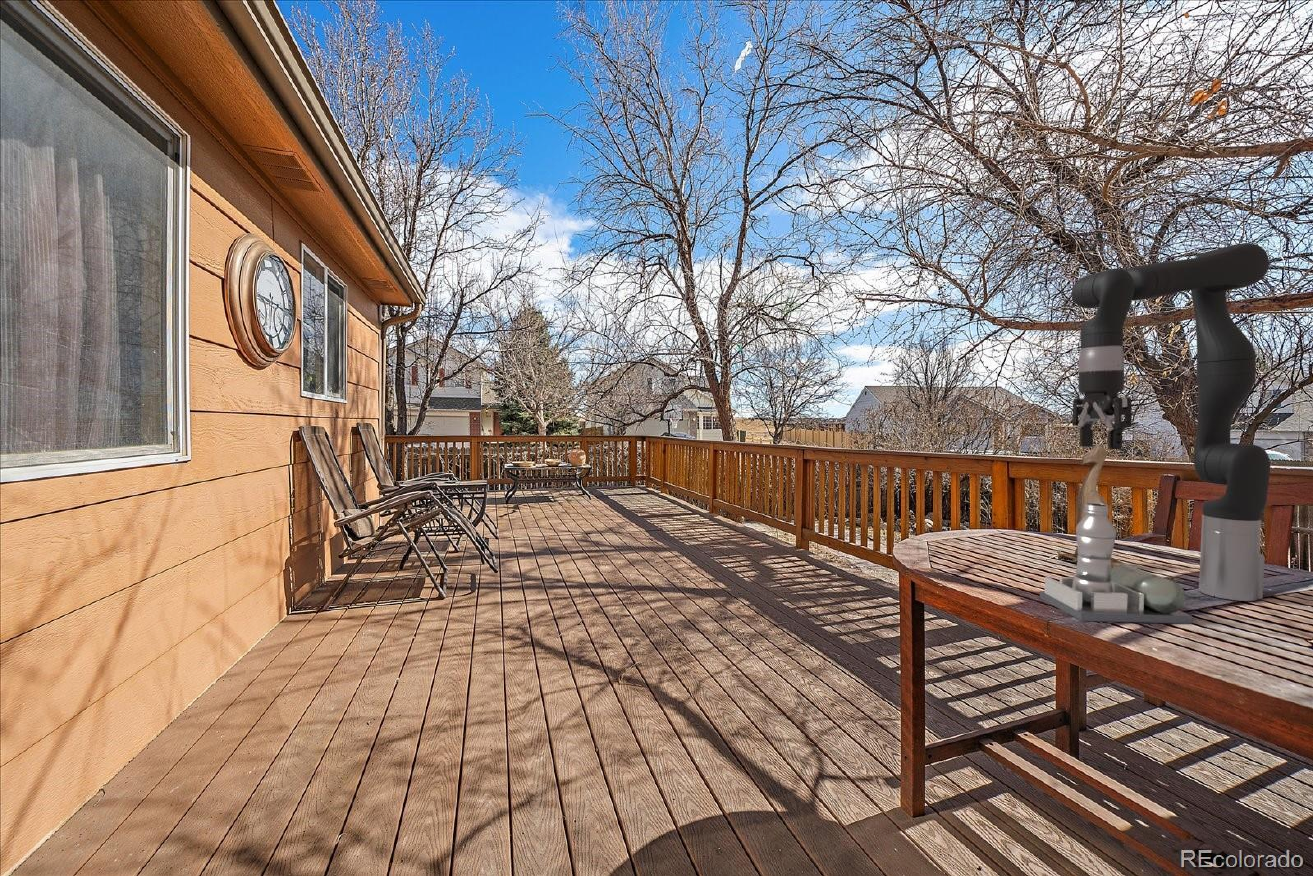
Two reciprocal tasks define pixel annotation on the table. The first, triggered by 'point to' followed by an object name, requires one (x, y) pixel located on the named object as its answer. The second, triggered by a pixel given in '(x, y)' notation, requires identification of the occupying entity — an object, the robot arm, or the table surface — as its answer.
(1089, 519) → the plastic bottle
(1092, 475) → the bird sculpture
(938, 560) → the table surface
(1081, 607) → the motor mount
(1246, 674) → the table surface
